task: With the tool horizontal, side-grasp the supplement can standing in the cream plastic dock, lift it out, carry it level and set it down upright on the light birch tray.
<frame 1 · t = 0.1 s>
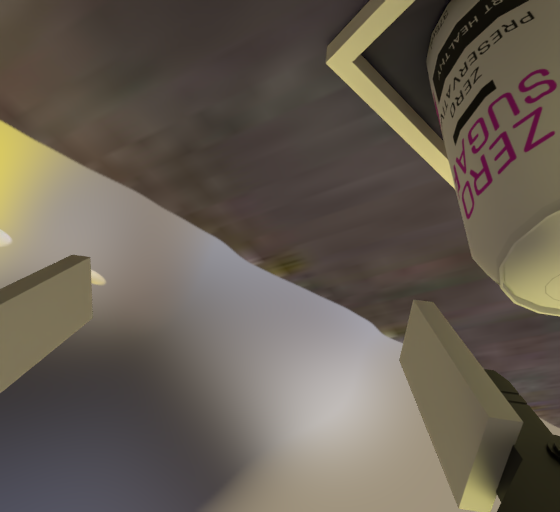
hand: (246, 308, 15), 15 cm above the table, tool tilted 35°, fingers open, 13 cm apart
dock: (506, 38, 20), on the table
supplement can: (505, 36, 20), resting in dock
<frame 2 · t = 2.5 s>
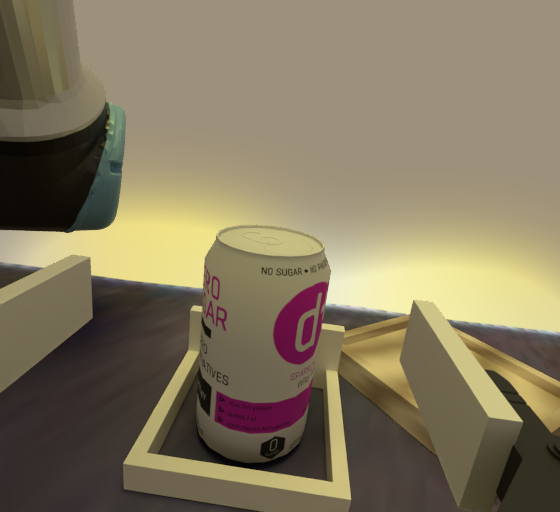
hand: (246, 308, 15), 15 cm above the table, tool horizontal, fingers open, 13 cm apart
dock: (250, 425, 29), on the table
supplement can: (250, 427, 29), resting in dock
tray: (442, 388, 37), on the table
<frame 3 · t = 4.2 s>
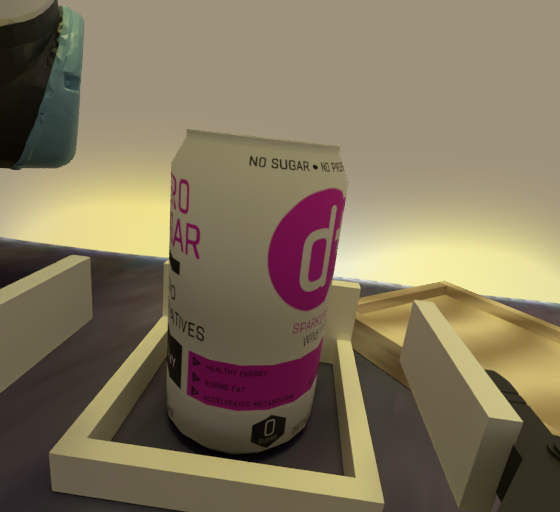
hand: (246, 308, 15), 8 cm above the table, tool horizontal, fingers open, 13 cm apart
dock: (239, 405, 22), on the table
supplement can: (239, 409, 22), resting in dock
tray: (479, 364, 30), on the table
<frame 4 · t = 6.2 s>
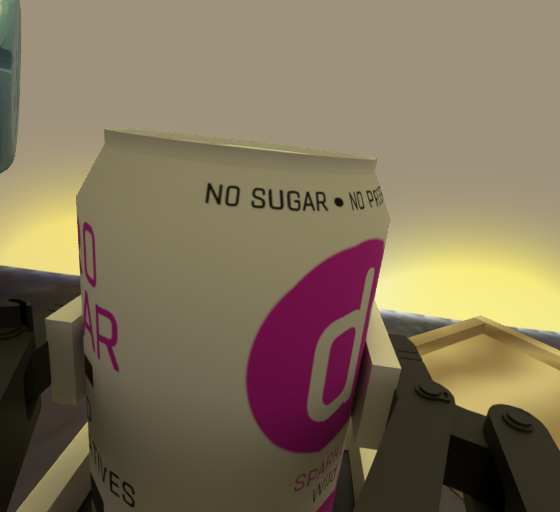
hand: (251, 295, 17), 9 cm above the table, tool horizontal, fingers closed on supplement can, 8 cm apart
tray: (544, 443, 22), on the table
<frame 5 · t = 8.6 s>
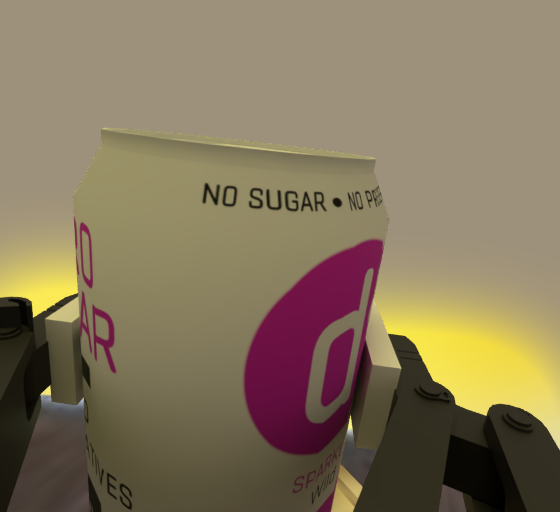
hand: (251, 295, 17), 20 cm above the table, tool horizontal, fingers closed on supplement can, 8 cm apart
when the fingers open (11 cm above the table, at t = 11.1 s): supplement can drops 1 cm, resting on tray.
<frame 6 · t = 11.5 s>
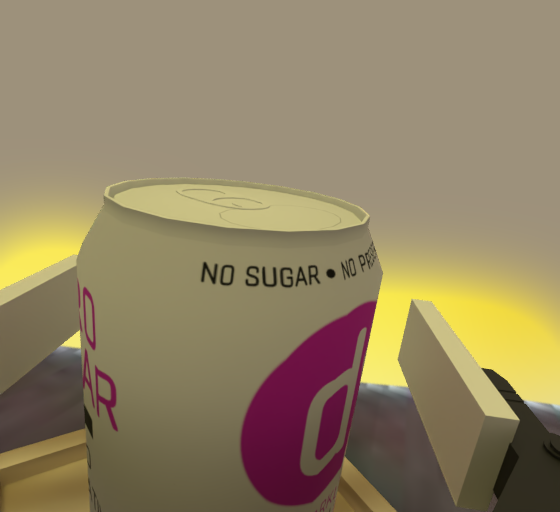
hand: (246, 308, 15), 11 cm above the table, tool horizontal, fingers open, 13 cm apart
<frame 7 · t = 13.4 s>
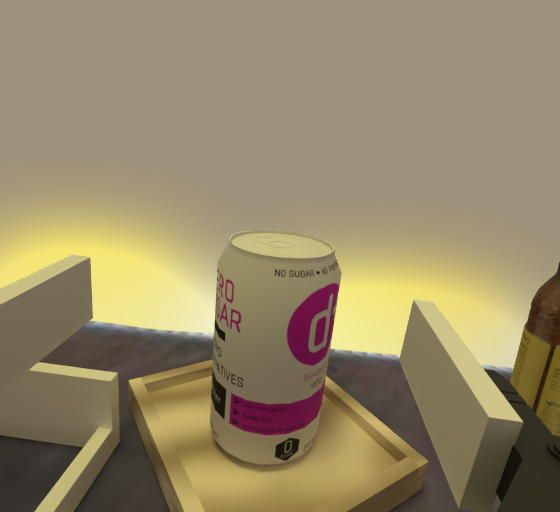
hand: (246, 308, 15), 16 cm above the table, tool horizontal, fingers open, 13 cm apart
supplement can: (263, 431, 29), point 1 cm above the table, touching tray
sauce bottle: (534, 446, 33), on the table
tray: (262, 443, 30), on the table
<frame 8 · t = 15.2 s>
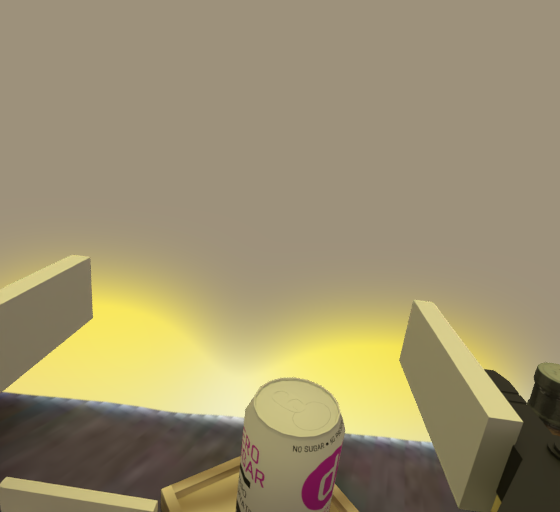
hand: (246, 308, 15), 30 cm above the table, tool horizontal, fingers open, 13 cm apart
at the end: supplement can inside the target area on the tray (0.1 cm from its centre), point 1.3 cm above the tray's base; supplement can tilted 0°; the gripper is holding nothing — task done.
